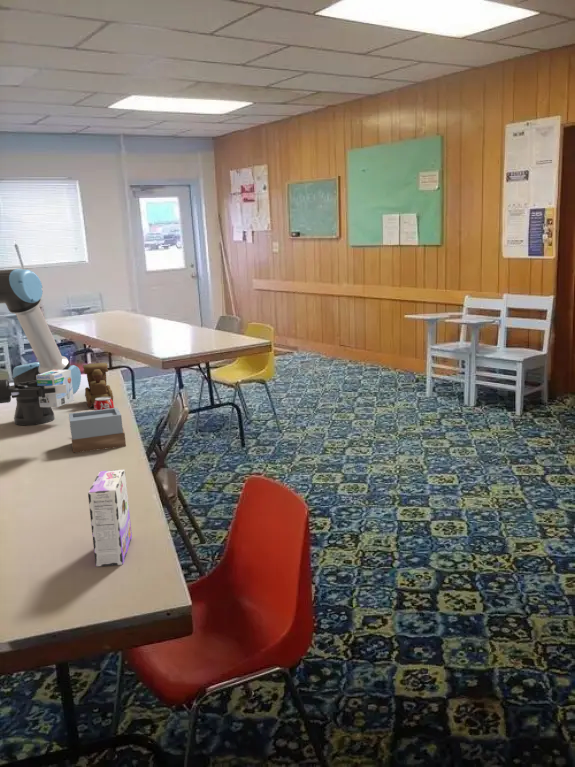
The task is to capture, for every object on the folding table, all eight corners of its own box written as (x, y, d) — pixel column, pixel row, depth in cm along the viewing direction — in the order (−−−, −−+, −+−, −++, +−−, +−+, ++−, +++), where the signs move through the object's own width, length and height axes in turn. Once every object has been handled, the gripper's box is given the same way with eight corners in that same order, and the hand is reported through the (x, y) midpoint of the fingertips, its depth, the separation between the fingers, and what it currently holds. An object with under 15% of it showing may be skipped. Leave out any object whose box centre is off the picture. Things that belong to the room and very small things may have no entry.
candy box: (106, 540, 156) (98, 470, 152) (132, 538, 156) (125, 468, 153) (94, 567, 142) (86, 491, 139) (123, 565, 142) (115, 489, 139)
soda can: (120, 428, 257) (116, 396, 255) (107, 433, 251) (104, 400, 248) (105, 427, 260) (101, 395, 258) (92, 431, 254) (88, 399, 251)
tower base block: (72, 444, 240) (71, 430, 239) (122, 438, 244) (121, 424, 244) (73, 454, 227) (71, 439, 226) (126, 447, 232) (124, 433, 231)
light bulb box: (57, 407, 222) (53, 374, 220) (38, 407, 224) (34, 375, 222) (75, 400, 232) (71, 369, 230) (57, 400, 234) (53, 369, 232)
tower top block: (70, 431, 238) (68, 413, 237) (119, 424, 243) (117, 407, 242) (72, 439, 226) (70, 421, 225) (123, 433, 232) (121, 415, 230)
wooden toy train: (85, 400, 310) (81, 364, 307) (111, 398, 313) (107, 361, 310) (87, 409, 291) (83, 371, 288) (115, 406, 295) (111, 368, 292)
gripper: (1, 396, 234) (67, 389, 240) (-7, 411, 211) (67, 403, 217) (-2, 374, 233) (65, 368, 239) (-10, 387, 210) (64, 379, 216)
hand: (66, 385), depth 228 cm, fingers closed on light bulb box, 12 cm apart
